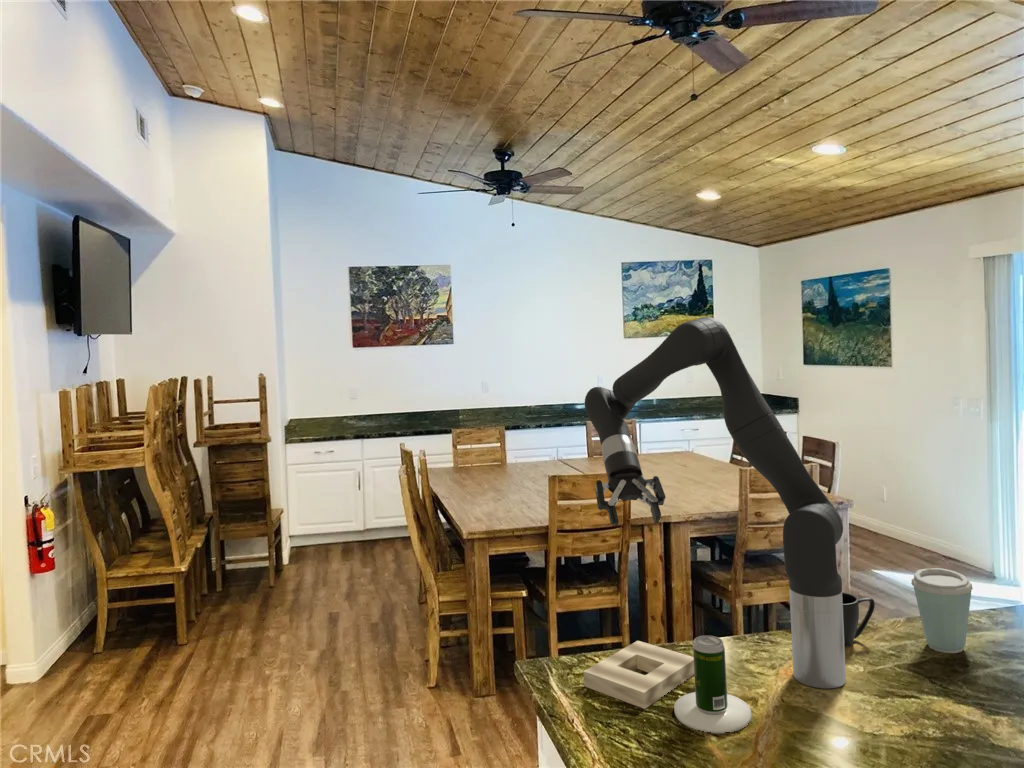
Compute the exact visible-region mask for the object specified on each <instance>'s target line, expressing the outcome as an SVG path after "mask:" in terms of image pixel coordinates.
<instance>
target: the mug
mask: <svg viewBox="0 0 1024 768" xmlns="http://www.w3.org/2000/svg"><path fill="white" fill-rule="evenodd" d="M842 599H843V621H844V646H845V647H850V646H853V644H854V640H855V639H857V638H858V637H859V636H860V635H861V634H862V632H863V631H864V629H865V628H866V627H867V624H868V622H869V621H870V619H871V617H872V615H873V613H874V610H875V606H876V605H875V600H874V599H873V597H872V598H871V597H869V596H867V597H866V596H863V597H859V598H858V597H857V596H856V595H854V594H851V593H847V592H844V591H842ZM866 601H867V602H868V601H869V606H868V609H867V611H866V614H865V615H864V617H863V620H862V622H861V623H860V624H859V619H860V603H862V602H866ZM858 625H859V626H858Z"/></svg>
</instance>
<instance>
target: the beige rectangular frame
mask: <svg viewBox="0 0 1024 768" xmlns="http://www.w3.org/2000/svg"><path fill="white" fill-rule="evenodd" d="M636 670H640V671H642V672H645V673H647V674H642V673H641V672H636ZM693 675H694V658H693V655H692V656H691V655H688V654H684V653H680V652H678V651H674V650H672V649H667V648H664V647H661V646H657V645H654V644H651V643H648V642H644V641H641V640H635V642H633V643H631V644H629V645H627V646H625V647H624V648H622V649H621V650H618V651H617V652H615V653H614V654H612V655H610V656H608V657H606V658H604V659H603V660H601V661H599V662H597V663H596V664H594V665H592V666H590V667H589V668H587V669H585V670H583V682H584V683H583V684H584V685H583V687H585V688H588V689H590V690H594V691H596V692H599V693H601V694H604V695H606V696H609V697H612V698H615V699H617V700H620V701H623V702H626V703H628V704H630V705H633V706H636V707H638V708H642V709H644V710H646V709H647V708H648V707H650V706H651V705H653V704H655V703H656V702H657V701H659V700H660V699H662V698H663V697H664V695H665V696H667V693H668V692H669V693H670V692H672V691H674V690H675V689H676V688H678V687H679V686H681V685H682V684H684V683H685V682H686V681H688V680H689V679H691V678H692V677H693ZM691 676H692V677H691ZM690 677H691V678H690ZM687 679H688V680H687ZM684 681H685V682H684ZM680 684H681V685H680ZM678 685H679V686H678ZM677 686H678V687H677ZM674 688H675V689H674ZM671 690H672V691H671ZM669 693H668V694H669ZM661 697H662V698H661Z"/></svg>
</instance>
